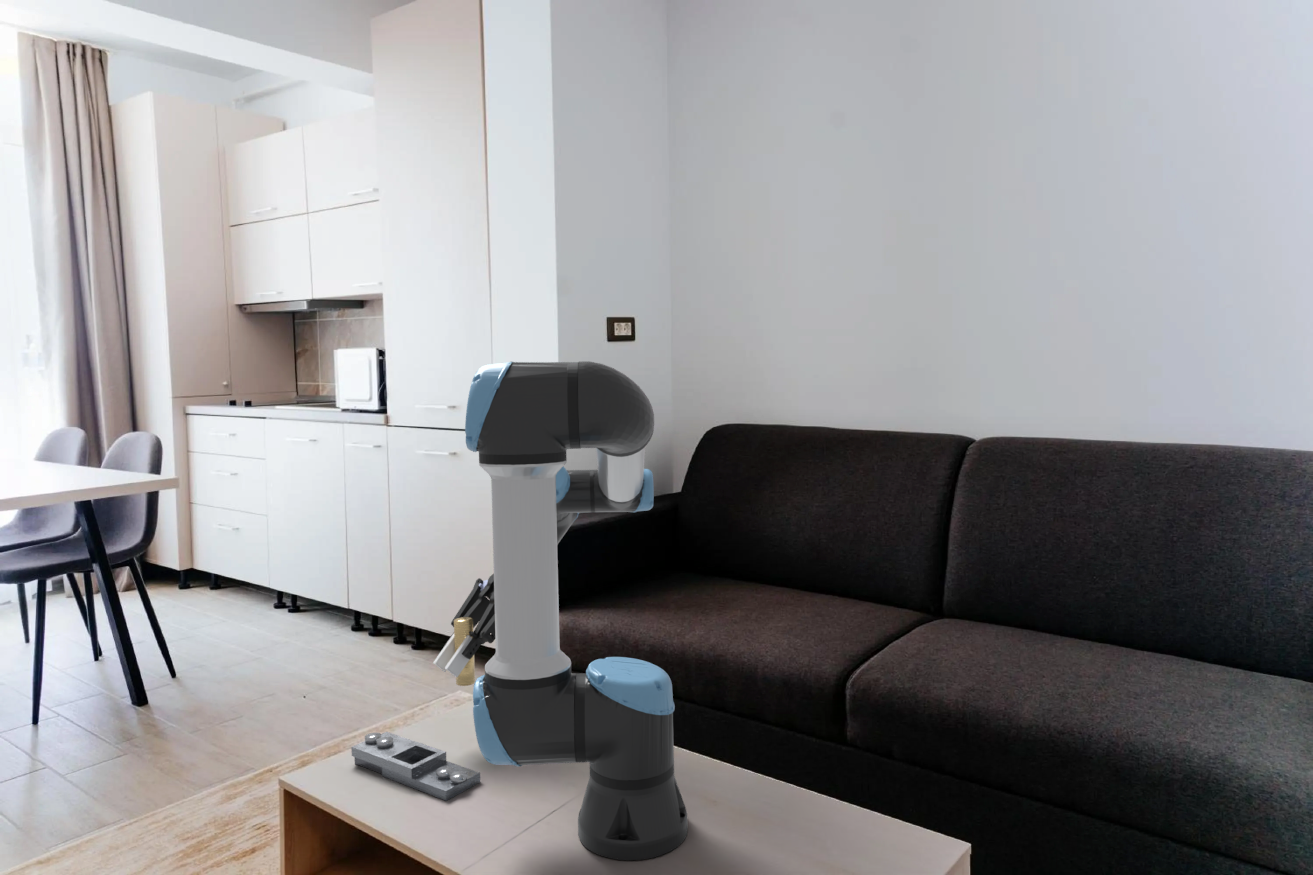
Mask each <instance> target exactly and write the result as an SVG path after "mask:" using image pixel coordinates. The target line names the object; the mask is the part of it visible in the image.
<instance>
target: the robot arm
mask: <svg viewBox="0 0 1313 875" xmlns="http://www.w3.org/2000/svg"><path fill="white" fill-rule="evenodd" d="M470 384H471V385H470V388H469V392H468V397H467V404H466V412H465V421H464V422H465V425H464V426H465V427H464V434H465V444H466V448H467V449H468V450H469V451H471V452H473V453H477V452H478V465H479V466H480V468H481V469H483V470H484V472H486V474H487V475H488V476H489V478H490V479H491V480H490V482H491V483H490V484H491V515H492V516H491V517H492V520H491V522H492V549H493V550H492V552H493V554H492V556H493V574H491V575H490V576H489V577H488V579H485V580H482V578H480V577H479V578H477V579H476V580H475V582H474V585H473V587H472V590H471V591H470V593H469V594H468V596H467V597H466V599H465V601H464V602H463V603H462V605H461V607H460V608H459V610H458V611H457V613H456V614H455V615H454V618H453V619H452V621H451V622H450V625H451V626H452V627H453V628H454V620H455V619H457V618H461V617H470V618H473V631H471V632H470V631H469V634H470V635H471V636H472V637H473V638H472V637H471V636H469V635H467V637H466V638H465V639H464V641H463V642H462V644H461V645H460V647H459V648H458V649H457V651H456V652H455V640H454V632H453V633H452V634H451V635H450V637H449V639H448V640H447V641H446V642H445V644H444V646H443V648H442V649H441V651H439V653H438V654H437V656H436V657H435V659H434V660H433V662H432V664H433V665H435V666H436V667H437V668H439V669H440V670H441V671H442V672H443V673H447V672H449V673H450V674H451V675H452V676H454V677H455V678H456V677H458V676H459V674H460V673H461V671H462V670H463V668H464V667H465V666H466V664H467V663H468V661H469V660H470V659H471V658H472V657H473V655H474V656H475V654H476V653H477V651H478V649H479V648H480V647H481V645H484V644H486V643H488V644H492V643H493V642H494V641H495V653H494V655H492V657H491V658H490V659H488V661H487V662H486V663H485V665H484V674H483V675H481V676H478V677H477V678H475V683H474V685H473V690H472V701H473V707H472V713H473V714H472V716H473V723H474V731H475V736H476V741H477V745H478V748H479V750H480V753H481V755H482V756H483V758H484V759H485V760H486V761H487V762H488V763H489V764H492V765H495V766H496V765H497V766H499V765H501V766H514V767H519V768H520V767H522V766H533V765H534V766H535V765H553V764H557V765H558V764H560V765H561V764H576V763H577V764H578V763H580V764H582V763H588V764H589V779H588V783H587V786H586V790H585V793H584V796H583V800H582V803H581V808H580V810H579V812H578V817H577V833H578V834H577V835H578V838H579V841H580V842H581V844H582V845H583V846H584V847H585V848H586V849H587V850H589V851H590V852H592V853H594V854H596V855H598V856H602V857H605V858H607V859H612V860H620V861H639V860H641V861H642V860H646V859H653V858H656V857H659V856H662V855H665V854H668V853H670V852H672V851H673V850H675V849H676V848H678V847H679V846H681V844H682V843H683V842H684V841H685V839H686V838H687V835H688V833H689V832H688V830H689V828H688V812H687V808H686V805H685V802H684V800H683V797H682V794H681V791H680V788H679V784H678V783H677V779H676V776H675V755H674V754H675V753H674V752H675V751H674V750H675V748H674V712H675V707H676V706H675V702H674V698H673V696H674V694H673V684H672V683H673V682H672V680H671V678H670V676H669V674H668V673H667V672H666V671H665V670H664V669H663V668H661V667H660V666H658V665H656V664H653V663H652V662H649V661H646V660H642V659H638V658H633V657H626V656H607V657H604V658H598V659H595V660H592V661H591V662H590V663H589V664H588V666H587V668H586V670H585V673H583V672H581V673H572V661H571V658H570V657H569V656H568V655H566V654H565V652H563V651H562V650H561V648H560V642H561V641H560V610H559V609H560V608H559V606H560V604H559V599H560V598H559V567H558V564H559V560H558V545H559V543H560V542H561V540H562V539H563V537H564V536H565V535H566V533H567V532H568V530H569V529H570V527H571V526H572V525H573V523H574V522H575V521H576V520H577V519H578V517H579V514H581V513H585V514H586V513H588V514H589V513H627V512H628V513H637V512H644V511H645V512H646V511H650V510H651V509H653V507H654V500H655V499H654V496H655V495H654V494H655V492H654V489H655V488H654V487H655V486H654V473H653V472H652V470H651V469H649V468H645V460H646V447H647V446H648V445H649V443H650V441H651V440H652V437H653V434H654V429H655V414H654V410H653V406H652V403H651V402H650V399H649V398H648V396H647V395H646V393H645V392H644V391H643V389H642V388H641V387H640V386H639V385H638V384H637V383H636V382H635V381H634V380H633V379H631V378H630V377H629V376H627V375H626V374H625V373H623V372H621V371H619V370H618V369H615V368H613V367H611V366H608V365H606V364H604V363H601V362H599V363H598V362H594V361H573V362H572V361H562V362H560V361H556V362H555V361H554V362H552V361H551V362H549V361H548V362H547V361H545V362H544V361H543V362H542V361H541V362H540V361H539V362H538V361H537V362H535V361H534V362H532V361H531V362H529V361H524V362H523V361H518V362H517V361H509V362H501V363H488V364H486V365H485V364H484V365H482V366H480V367H479V368H478V369H477V370H476V371H475V374H474V375H473V378H472V381H471V383H470ZM572 449H578V450H580V449H595V454H596V463H597V464H596V465H597V469H566V467H564V466H565V465H566V464H567V460H568V459H567V451H568V450H572ZM474 628H475V629H474Z"/></svg>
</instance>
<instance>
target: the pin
mask: <svg viewBox="0 0 1313 875" xmlns="http://www.w3.org/2000/svg"><path fill="white" fill-rule="evenodd" d="M469 631H470V632H471V631H473V632H474V628H473V618H470V617H461V618H457V619H455V620H454V627H453V633H454V640H455V652H456V651H457V649H458V648H459V647H460V645H461V644H462V642H463V641H464V639H465V638H466V637H467V635H469V636H471V635H470V634H469ZM471 637H472V636H471ZM472 638H473V637H472ZM475 665H476V664H475V654H474V655H473V657H472V658H471V659H470V660H469V661H468V663H467V664H466V666H465V667H464V668H463V670H462V671H461V673H460V674H459V676H458V677H455V684H456V686H460V687H466V686H471V685H473V684H475V681H476V670H475Z"/></svg>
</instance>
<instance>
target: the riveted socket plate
mask: <svg viewBox="0 0 1313 875" xmlns="http://www.w3.org/2000/svg"><path fill="white" fill-rule="evenodd" d="M350 750H351V757H353V758H354V764H355V765H357V766H360V767H362V768H365V769H367V770H371V771H373V772H376V773H378V774H381V776H382V778H385V779H388V780H390V781H393V782H396V783H399V784H401V785H404V786H407V787H409V788H411V789H413V790H416V791H420V792H422V793H425V794H427V795H430V796H432V797H434V798H437V799H440V800H442V801H445V802H447V801H448V800H450V799H453V798H454V797H456V796H457V795H459V794H461V793H463V792H465V791H467V790H468V789H470V788H472V787H474V786H476V785H477V784H480V783H481V772H479V771H476V770H474V769H471V768H468V767H465V766H462V765H459V764H456V763H453V762H450V761H448V760H447V751H445V750H442V749H438V748H435V747H433V746H430V745H427V744H425V743H421V742H418V741H416V740H413V739H410V738H407V737H404V736H402V735H398V734H395V733H392V732H388V731H385V732H382V733H380V732H371V733H367V734H366V735H365V736H364V741H361V742H358V743H357V744H355V745H352V746H351V748H350Z"/></svg>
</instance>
